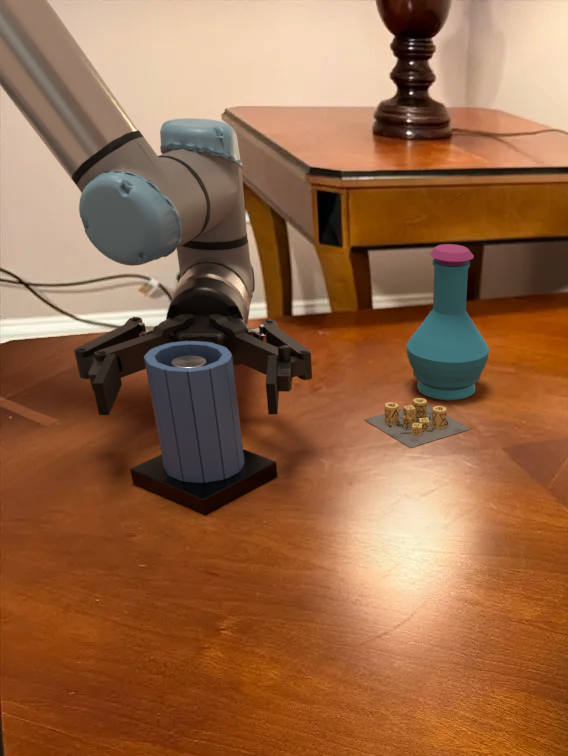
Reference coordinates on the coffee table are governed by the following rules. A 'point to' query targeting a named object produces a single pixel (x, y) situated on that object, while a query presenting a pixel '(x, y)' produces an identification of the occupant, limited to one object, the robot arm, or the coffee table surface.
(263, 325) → the robot arm
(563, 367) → the coffee table surface
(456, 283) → the perfume bottle
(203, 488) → the peg on square base
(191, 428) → the blue sleeve
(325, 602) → the coffee table surface
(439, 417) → the dice set
